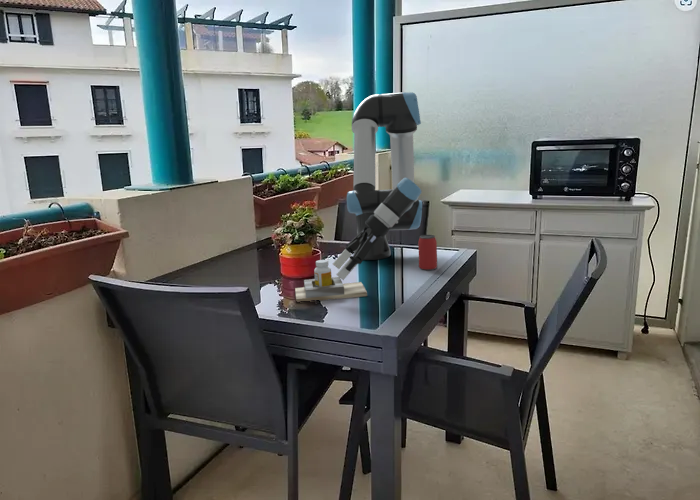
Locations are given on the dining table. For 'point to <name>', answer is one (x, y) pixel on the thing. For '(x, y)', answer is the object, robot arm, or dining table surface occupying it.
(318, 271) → the supplement bottle
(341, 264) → the robot arm
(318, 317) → the dining table surface
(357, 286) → the socket board
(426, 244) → the beer can
